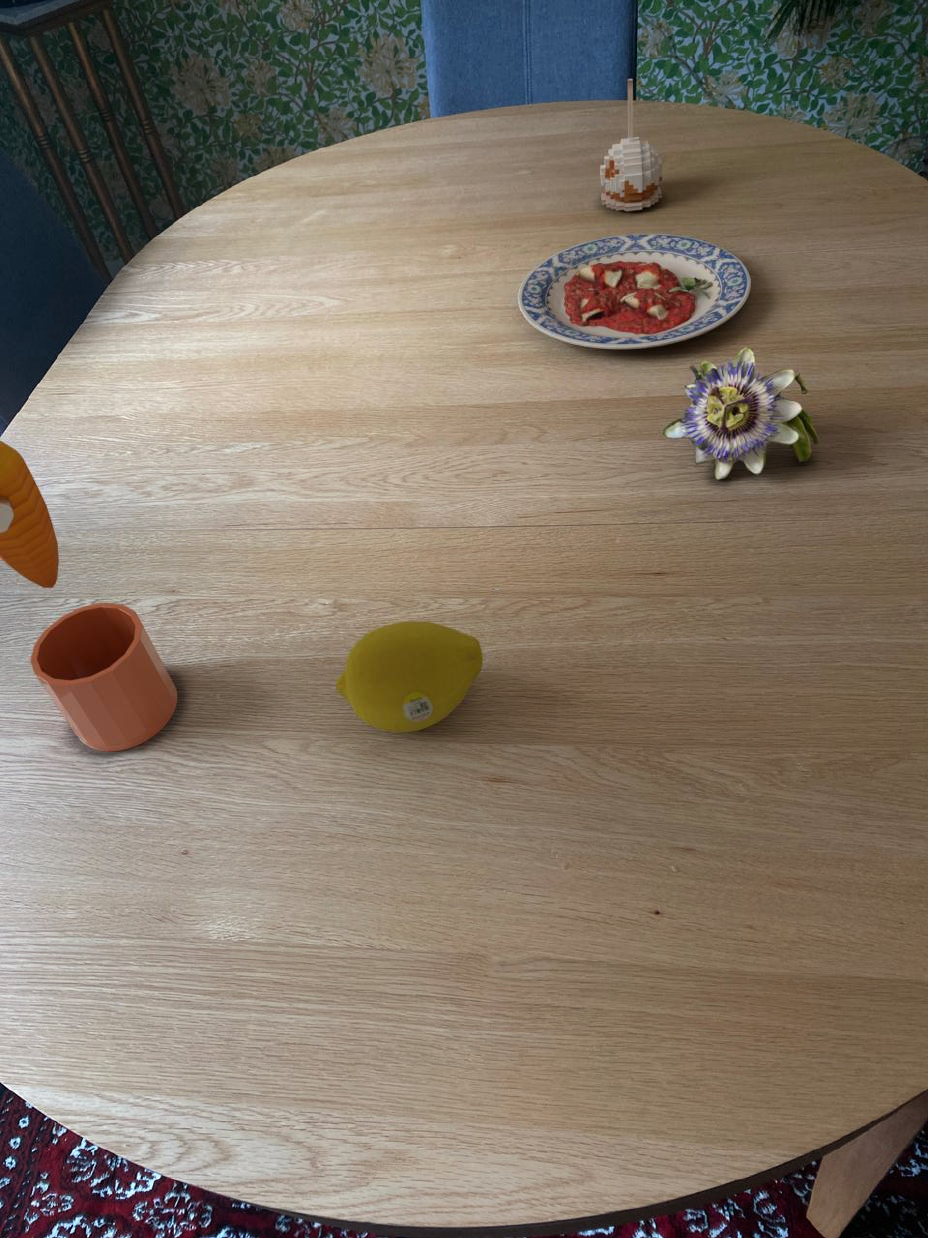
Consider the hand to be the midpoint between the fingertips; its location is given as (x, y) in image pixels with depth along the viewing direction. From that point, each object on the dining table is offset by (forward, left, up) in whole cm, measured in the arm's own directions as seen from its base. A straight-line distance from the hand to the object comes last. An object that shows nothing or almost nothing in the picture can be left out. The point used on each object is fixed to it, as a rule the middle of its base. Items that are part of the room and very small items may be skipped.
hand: (5, 489), depth 62 cm
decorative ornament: (+60, +73, -22) cm, 97 cm away
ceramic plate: (+53, +47, -22) cm, 75 cm away
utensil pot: (-1, 0, -22) cm, 22 cm away
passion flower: (+55, +17, -22) cm, 62 cm away
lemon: (+22, -6, -22) cm, 32 cm away
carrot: (-1, 0, -8) cm, 9 cm away
